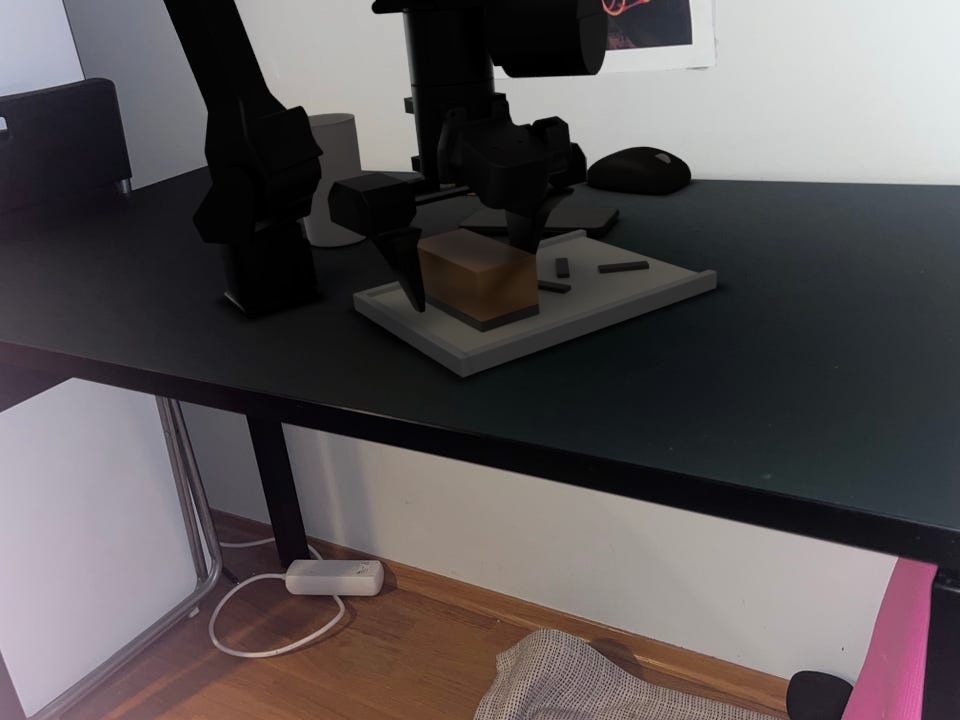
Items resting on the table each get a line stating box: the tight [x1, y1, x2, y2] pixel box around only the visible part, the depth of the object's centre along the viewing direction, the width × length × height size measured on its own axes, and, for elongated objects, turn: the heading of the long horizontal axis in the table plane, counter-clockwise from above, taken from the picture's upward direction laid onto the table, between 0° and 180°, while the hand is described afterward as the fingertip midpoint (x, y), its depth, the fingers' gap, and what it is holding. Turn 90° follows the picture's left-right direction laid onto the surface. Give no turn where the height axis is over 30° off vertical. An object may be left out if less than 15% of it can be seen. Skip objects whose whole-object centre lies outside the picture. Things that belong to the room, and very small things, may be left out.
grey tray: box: [352, 230, 718, 379], centre depth 69 cm, size 23×17×1 cm
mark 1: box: [538, 280, 571, 294], centre depth 68 cm, size 1×4×1 cm, turn 52°
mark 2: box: [556, 258, 570, 278], centre depth 71 cm, size 1×4×1 cm, turn 177°
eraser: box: [417, 228, 539, 332], centre depth 65 cm, size 5×10×4 cm, turn 32°
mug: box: [302, 112, 367, 248], centre depth 88 cm, size 10×7×12 cm, turn 59°
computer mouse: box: [585, 145, 692, 195], centre depth 98 cm, size 8×12×4 cm, turn 51°
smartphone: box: [457, 206, 620, 237], centre depth 87 cm, size 7×1×15 cm
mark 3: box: [598, 261, 649, 274], centre depth 70 cm, size 1×4×1 cm, turn 92°
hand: (473, 295), depth 66 cm, fingers open, 9 cm apart
